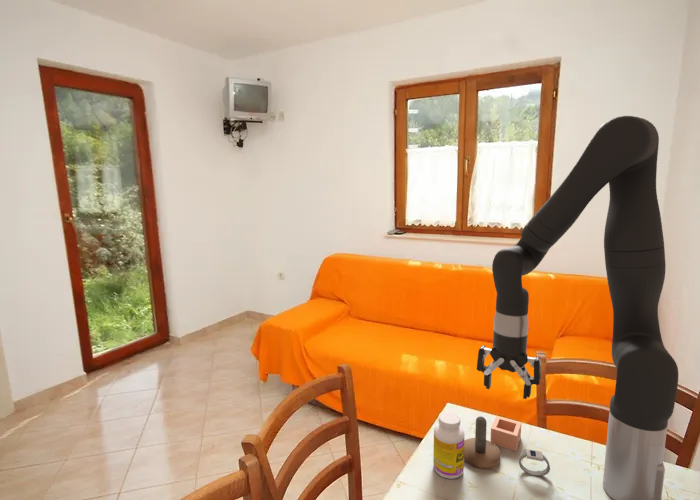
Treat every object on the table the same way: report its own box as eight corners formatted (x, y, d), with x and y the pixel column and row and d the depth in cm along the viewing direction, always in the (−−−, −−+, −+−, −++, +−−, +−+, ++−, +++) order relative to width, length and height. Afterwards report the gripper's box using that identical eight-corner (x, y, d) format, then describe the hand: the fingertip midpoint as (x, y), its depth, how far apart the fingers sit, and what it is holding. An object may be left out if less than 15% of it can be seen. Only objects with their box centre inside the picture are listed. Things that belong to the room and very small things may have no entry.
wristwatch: (548, 472, 86) (549, 452, 85) (550, 481, 83) (551, 460, 82) (517, 466, 88) (518, 446, 87) (518, 475, 85) (519, 454, 84)
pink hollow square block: (520, 437, 98) (521, 422, 97) (516, 451, 93) (517, 436, 92) (495, 429, 101) (496, 415, 100) (490, 442, 96) (491, 428, 95)
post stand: (504, 451, 93) (505, 413, 91) (495, 475, 85) (497, 434, 84) (466, 439, 98) (467, 402, 96) (455, 460, 90) (456, 421, 89)
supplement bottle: (458, 484, 83) (459, 430, 81) (429, 473, 87) (429, 421, 84) (467, 465, 89) (468, 414, 87) (439, 455, 92) (439, 405, 90)
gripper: (475, 329, 93) (473, 391, 95) (541, 341, 85) (536, 408, 88) (483, 319, 99) (480, 378, 102) (545, 330, 91) (540, 393, 94)
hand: (506, 392), depth 95 cm, fingers open, 8 cm apart
